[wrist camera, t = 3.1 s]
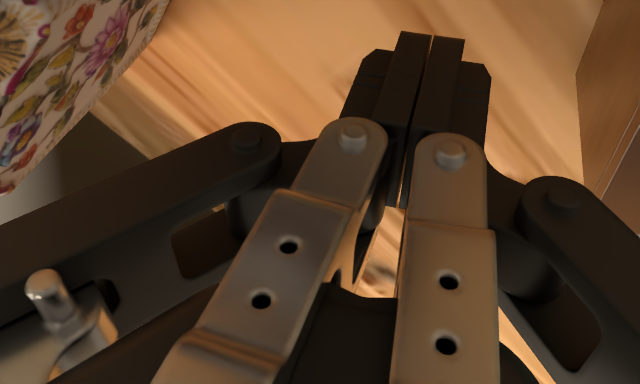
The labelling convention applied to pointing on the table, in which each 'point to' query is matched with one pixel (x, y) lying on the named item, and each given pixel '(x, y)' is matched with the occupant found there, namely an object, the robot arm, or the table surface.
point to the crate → (612, 110)
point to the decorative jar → (61, 69)
